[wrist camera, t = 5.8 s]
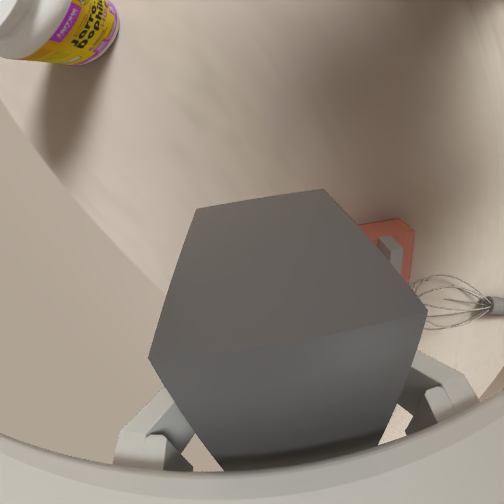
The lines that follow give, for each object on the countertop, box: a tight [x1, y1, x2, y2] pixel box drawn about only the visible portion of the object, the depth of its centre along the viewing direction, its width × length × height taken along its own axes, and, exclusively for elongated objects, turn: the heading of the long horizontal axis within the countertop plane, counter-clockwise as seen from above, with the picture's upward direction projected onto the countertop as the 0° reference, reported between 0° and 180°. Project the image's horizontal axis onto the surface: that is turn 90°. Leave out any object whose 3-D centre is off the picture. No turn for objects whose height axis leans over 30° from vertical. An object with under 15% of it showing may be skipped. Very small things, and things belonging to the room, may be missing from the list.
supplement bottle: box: [0, 0, 120, 65], centre depth 11 cm, size 7×7×13 cm
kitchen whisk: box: [412, 274, 504, 330], centre depth 30 cm, size 6×34×6 cm, turn 77°
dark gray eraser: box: [148, 189, 428, 471], centre depth 8 cm, size 4×9×6 cm, turn 9°
